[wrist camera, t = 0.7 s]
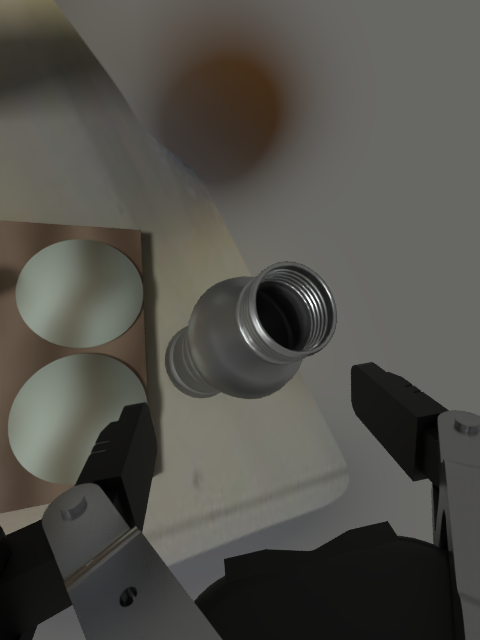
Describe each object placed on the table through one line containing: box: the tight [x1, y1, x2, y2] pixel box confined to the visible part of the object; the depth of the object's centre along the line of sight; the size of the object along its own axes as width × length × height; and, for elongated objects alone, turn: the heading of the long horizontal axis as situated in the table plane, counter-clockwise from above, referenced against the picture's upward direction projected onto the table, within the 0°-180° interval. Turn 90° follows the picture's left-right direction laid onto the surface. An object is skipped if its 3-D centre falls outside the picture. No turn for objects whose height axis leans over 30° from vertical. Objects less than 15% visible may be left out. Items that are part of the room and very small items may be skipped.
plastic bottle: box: [165, 261, 337, 399], centre depth 20 cm, size 6×7×20 cm
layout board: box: [0, 221, 148, 513], centre depth 24 cm, size 16×23×4 cm
